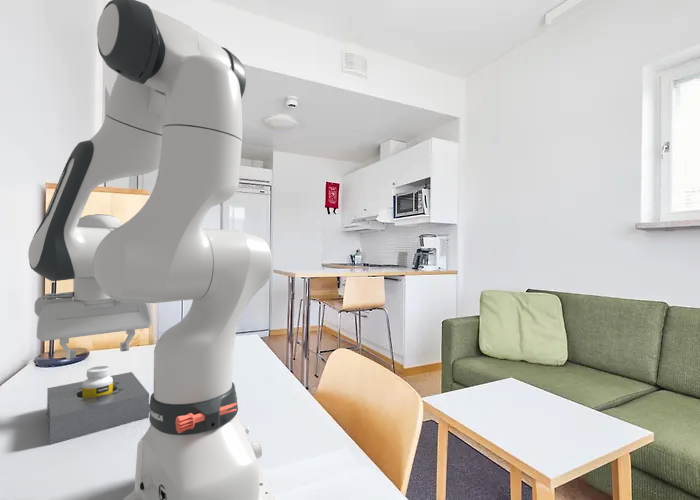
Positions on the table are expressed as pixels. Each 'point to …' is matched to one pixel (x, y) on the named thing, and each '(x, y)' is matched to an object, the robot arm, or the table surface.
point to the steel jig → (94, 408)
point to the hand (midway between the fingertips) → (98, 354)
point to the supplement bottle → (97, 382)
